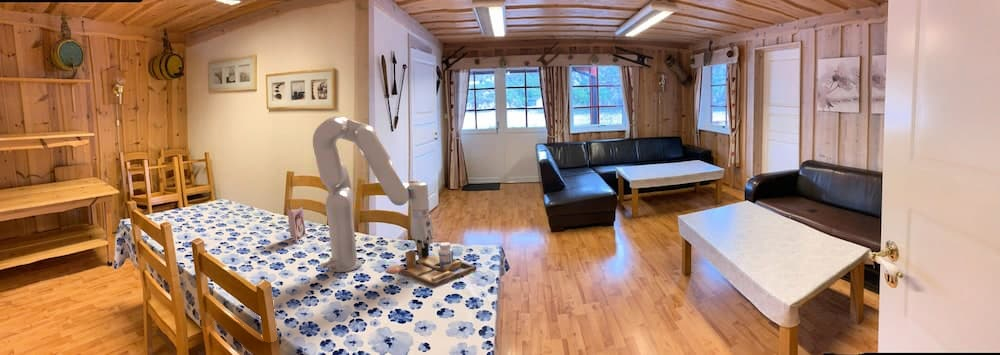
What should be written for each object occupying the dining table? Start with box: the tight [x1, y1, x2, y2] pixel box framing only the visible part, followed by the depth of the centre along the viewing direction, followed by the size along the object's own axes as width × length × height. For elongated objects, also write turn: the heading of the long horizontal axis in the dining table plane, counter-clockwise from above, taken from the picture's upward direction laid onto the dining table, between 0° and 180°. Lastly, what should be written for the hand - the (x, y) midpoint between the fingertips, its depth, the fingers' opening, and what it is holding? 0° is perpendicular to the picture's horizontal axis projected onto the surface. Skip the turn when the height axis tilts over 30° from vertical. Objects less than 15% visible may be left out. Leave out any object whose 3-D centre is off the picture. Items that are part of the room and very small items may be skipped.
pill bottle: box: [438, 241, 454, 268], centre depth 193 cm, size 6×5×10 cm
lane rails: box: [400, 258, 477, 288], centre depth 189 cm, size 21×20×2 cm
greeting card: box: [286, 206, 306, 243], centre depth 235 cm, size 11×7×15 cm, turn 1°
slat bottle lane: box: [416, 242, 462, 272], centre depth 197 cm, size 8×20×7 cm, turn 46°
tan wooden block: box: [404, 249, 433, 276], centre depth 190 cm, size 8×9×7 cm
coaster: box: [386, 265, 406, 274], centre depth 193 cm, size 7×7×1 cm
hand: (423, 255), depth 203 cm, fingers closed on slat bottle lane, 2 cm apart
